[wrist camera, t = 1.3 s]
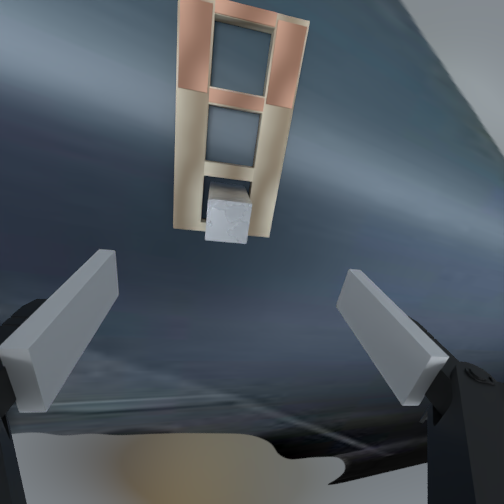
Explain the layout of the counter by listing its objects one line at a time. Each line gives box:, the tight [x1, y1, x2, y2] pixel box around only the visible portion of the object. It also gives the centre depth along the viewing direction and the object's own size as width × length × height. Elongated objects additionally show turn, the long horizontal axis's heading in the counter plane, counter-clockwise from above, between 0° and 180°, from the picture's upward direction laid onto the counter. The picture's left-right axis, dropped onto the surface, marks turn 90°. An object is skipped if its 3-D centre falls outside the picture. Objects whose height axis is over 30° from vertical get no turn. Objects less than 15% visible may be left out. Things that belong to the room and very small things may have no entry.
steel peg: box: [205, 181, 252, 244], centre depth 28 cm, size 4×4×9 cm
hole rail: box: [173, 0, 310, 237], centre depth 28 cm, size 12×22×2 cm, turn 171°
